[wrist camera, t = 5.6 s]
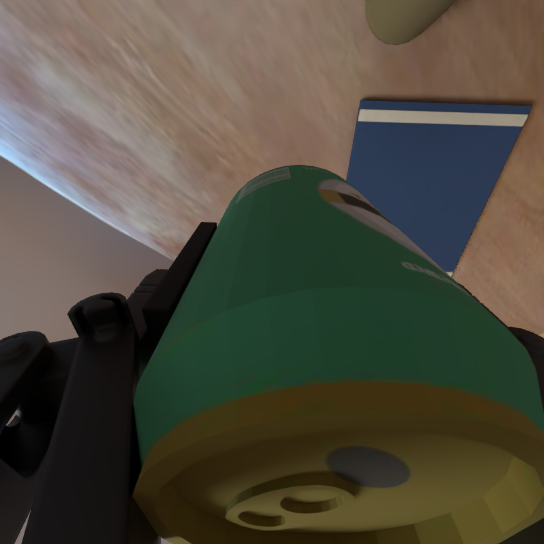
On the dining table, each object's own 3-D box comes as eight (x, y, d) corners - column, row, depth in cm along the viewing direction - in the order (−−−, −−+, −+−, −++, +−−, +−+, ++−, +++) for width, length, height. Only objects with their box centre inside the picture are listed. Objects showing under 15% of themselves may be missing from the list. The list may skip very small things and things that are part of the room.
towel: (360, 100, 24) (362, 100, 24) (528, 105, 24) (533, 105, 24) (329, 277, 35) (329, 279, 34) (446, 280, 35) (448, 282, 34)
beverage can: (392, 237, 15) (670, 526, 4) (289, 312, 18) (310, 587, 7) (299, 122, 12) (485, 175, 1) (194, 236, 15) (9, 518, 4)
